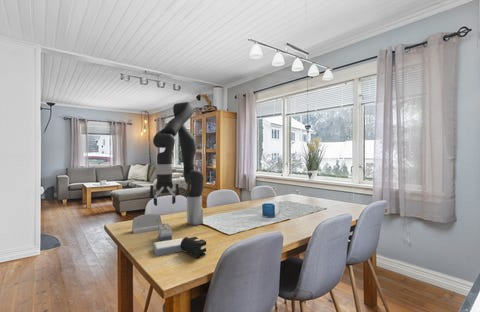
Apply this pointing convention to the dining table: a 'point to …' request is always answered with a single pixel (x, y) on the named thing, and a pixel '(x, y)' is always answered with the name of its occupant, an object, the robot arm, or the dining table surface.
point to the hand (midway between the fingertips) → (164, 204)
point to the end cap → (193, 246)
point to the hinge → (146, 223)
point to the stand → (167, 247)
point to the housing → (164, 232)
